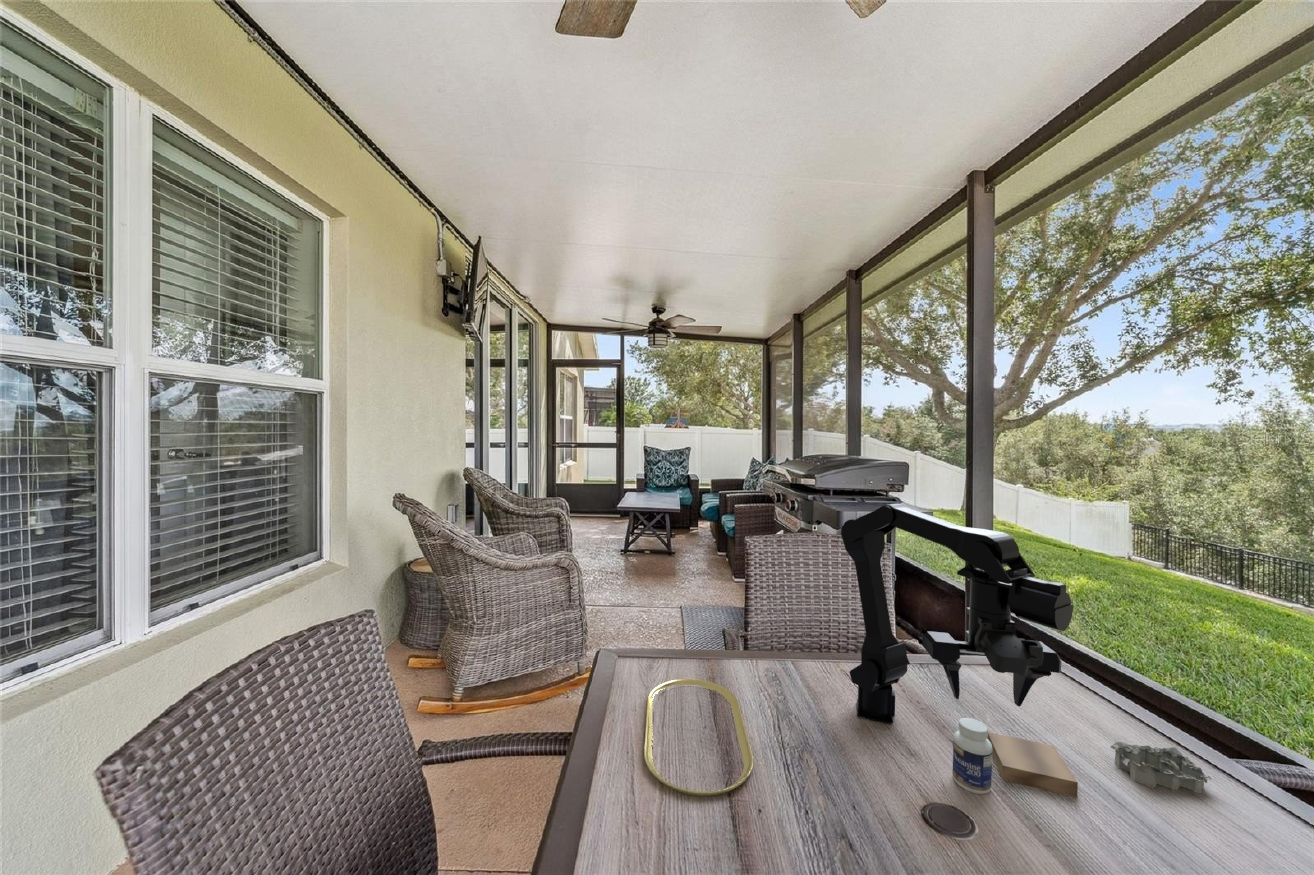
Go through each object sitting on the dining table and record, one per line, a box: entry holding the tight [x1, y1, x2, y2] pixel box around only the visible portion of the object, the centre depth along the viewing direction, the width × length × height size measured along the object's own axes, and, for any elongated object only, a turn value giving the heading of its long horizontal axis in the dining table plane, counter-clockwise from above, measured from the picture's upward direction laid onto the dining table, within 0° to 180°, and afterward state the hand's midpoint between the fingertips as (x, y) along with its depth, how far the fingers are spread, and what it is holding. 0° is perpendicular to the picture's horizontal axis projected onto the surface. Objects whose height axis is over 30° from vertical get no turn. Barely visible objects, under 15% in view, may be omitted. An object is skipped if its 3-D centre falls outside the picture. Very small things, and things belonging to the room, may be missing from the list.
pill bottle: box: [952, 717, 993, 795], centre depth 81 cm, size 5×5×10 cm
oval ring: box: [643, 678, 754, 797], centre depth 94 cm, size 19×35×2 cm, turn 179°
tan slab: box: [987, 731, 1079, 798], centre depth 85 cm, size 10×10×2 cm
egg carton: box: [1110, 741, 1212, 794], centre depth 84 cm, size 11×8×4 cm
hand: (986, 701), depth 82 cm, fingers open, 9 cm apart
